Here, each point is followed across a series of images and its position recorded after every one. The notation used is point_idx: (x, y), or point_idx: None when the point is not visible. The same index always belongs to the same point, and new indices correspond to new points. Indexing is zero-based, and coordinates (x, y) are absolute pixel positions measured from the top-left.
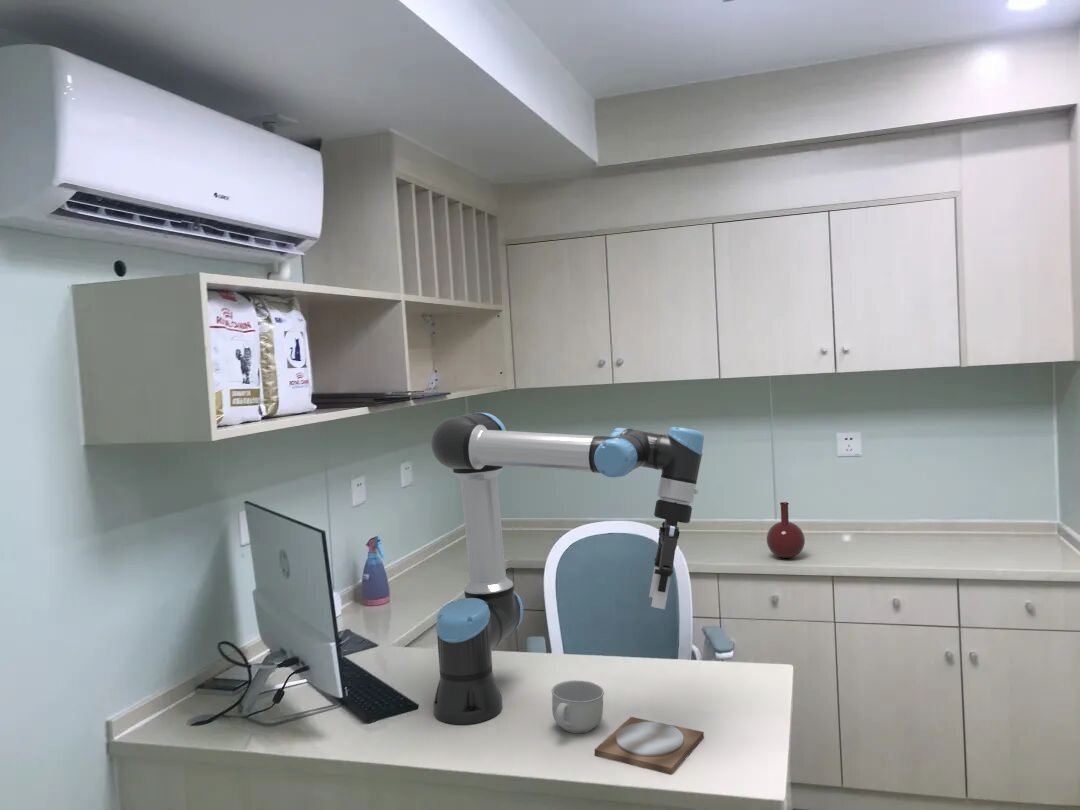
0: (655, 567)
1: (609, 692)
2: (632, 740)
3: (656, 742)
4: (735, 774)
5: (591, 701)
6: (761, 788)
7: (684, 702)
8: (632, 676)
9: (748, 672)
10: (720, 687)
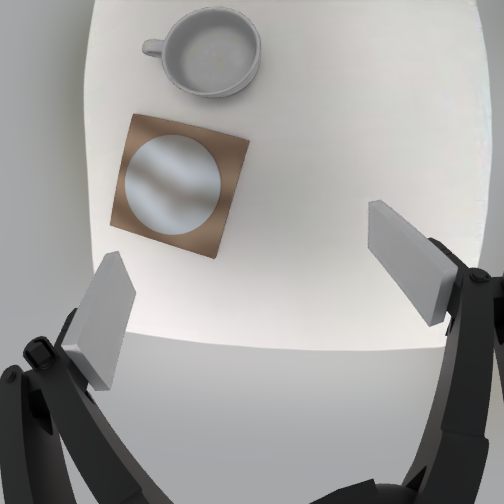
0: (441, 275)
1: (361, 91)
2: (153, 162)
3: (154, 198)
4: None
5: (174, 83)
6: None
7: (337, 219)
8: (428, 127)
9: None
10: None
